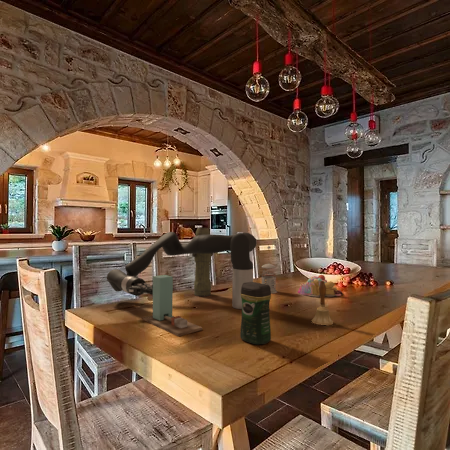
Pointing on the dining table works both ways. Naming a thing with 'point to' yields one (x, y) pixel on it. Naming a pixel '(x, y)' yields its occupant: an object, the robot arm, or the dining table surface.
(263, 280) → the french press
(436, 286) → the dining table surface
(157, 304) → the sleeve
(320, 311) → the hand bell
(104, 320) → the dining table surface
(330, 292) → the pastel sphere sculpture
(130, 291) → the robot arm
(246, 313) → the coffee jar
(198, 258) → the thermos
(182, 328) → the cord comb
